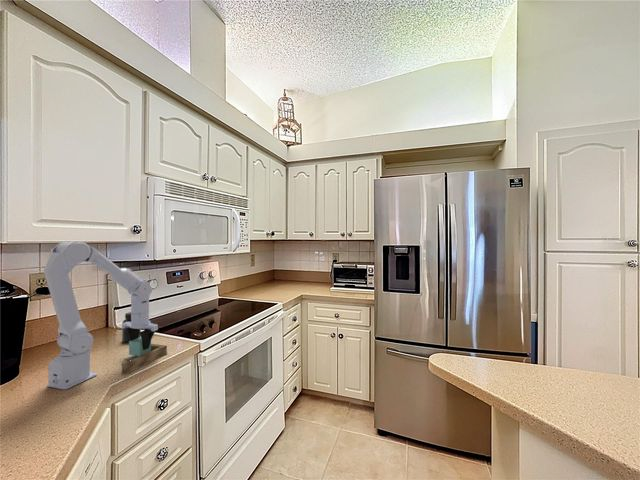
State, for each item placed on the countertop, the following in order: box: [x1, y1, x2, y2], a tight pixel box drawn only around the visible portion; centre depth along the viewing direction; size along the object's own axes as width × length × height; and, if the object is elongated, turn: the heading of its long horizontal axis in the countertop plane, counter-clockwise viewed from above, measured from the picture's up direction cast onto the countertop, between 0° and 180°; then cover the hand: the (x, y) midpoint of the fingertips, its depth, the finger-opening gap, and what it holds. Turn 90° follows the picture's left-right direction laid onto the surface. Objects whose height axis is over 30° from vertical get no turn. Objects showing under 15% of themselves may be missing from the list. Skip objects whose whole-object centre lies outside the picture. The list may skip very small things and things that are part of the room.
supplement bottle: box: [121, 311, 142, 344], centre depth 124 cm, size 7×7×12 cm
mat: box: [124, 353, 146, 361], centre depth 106 cm, size 7×7×1 cm
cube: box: [128, 336, 152, 356], centre depth 106 cm, size 5×5×5 cm
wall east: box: [151, 343, 168, 355], centre depth 111 cm, size 2×11×3 cm, turn 75°
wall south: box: [121, 347, 165, 375], centre depth 101 cm, size 16×2×3 cm, turn 165°
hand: (140, 348), depth 106 cm, fingers closed on cube, 5 cm apart
